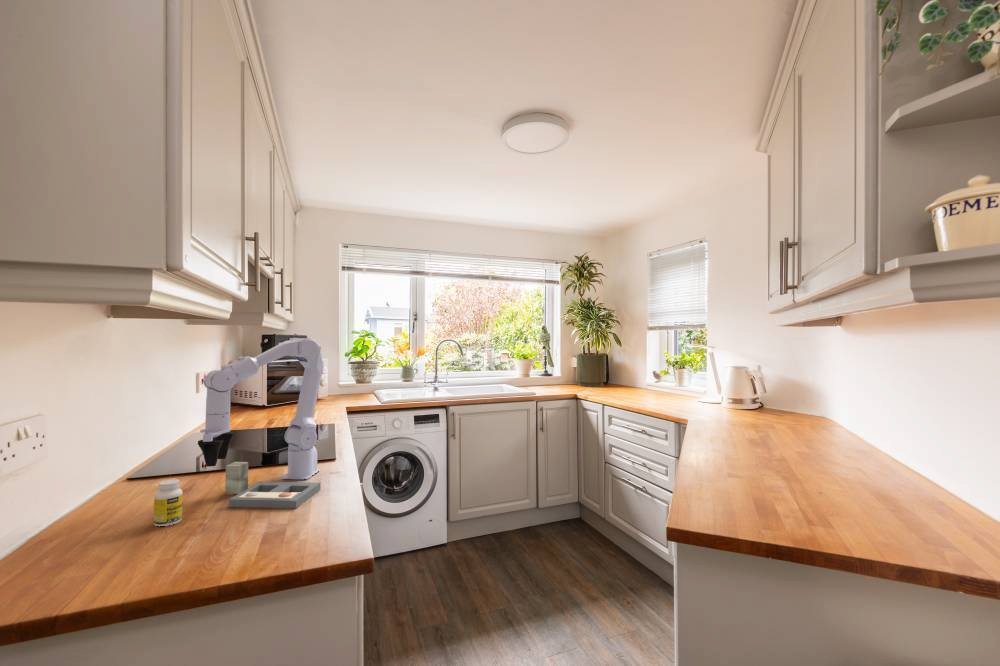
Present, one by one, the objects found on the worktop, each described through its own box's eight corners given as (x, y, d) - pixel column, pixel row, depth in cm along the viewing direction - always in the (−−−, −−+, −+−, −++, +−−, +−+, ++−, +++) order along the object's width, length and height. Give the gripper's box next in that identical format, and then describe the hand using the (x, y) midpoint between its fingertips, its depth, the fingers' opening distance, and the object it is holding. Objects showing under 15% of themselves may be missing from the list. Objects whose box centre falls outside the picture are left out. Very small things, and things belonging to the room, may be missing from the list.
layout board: (260, 488, 128) (260, 479, 128) (320, 489, 127) (320, 481, 127) (228, 507, 114) (228, 497, 114) (296, 508, 113) (296, 498, 113)
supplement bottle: (166, 528, 101) (167, 486, 101) (147, 526, 102) (148, 484, 102) (187, 519, 106) (188, 478, 106) (169, 517, 107) (170, 477, 107)
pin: (234, 489, 127) (234, 461, 127) (247, 489, 127) (248, 462, 127) (225, 494, 123) (225, 465, 123) (239, 494, 123) (239, 466, 123)
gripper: (211, 409, 127) (210, 456, 127) (190, 417, 113) (188, 470, 113) (238, 409, 129) (237, 455, 129) (221, 417, 115) (219, 469, 115)
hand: (216, 462), depth 121 cm, fingers open, 7 cm apart
